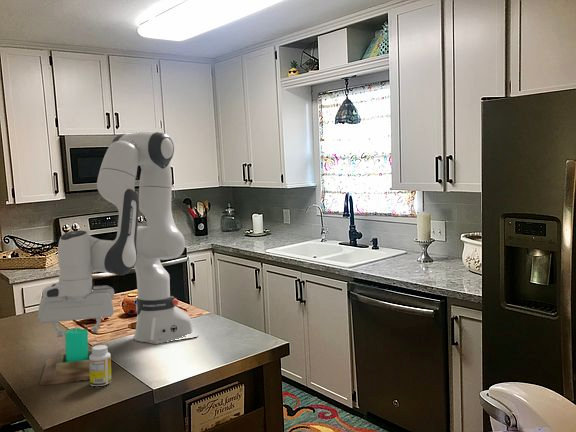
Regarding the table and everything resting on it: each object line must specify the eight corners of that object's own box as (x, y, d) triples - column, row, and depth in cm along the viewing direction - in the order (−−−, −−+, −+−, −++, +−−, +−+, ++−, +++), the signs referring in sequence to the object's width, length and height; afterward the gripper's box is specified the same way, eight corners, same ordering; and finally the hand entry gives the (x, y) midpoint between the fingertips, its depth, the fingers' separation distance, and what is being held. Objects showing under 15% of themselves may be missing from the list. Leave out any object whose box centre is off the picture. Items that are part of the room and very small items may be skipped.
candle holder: (110, 356, 163) (110, 344, 162) (111, 377, 146) (110, 363, 146) (47, 363, 157) (47, 350, 156) (40, 385, 140) (40, 371, 140)
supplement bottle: (104, 378, 145) (103, 342, 144) (115, 383, 141) (114, 346, 141) (85, 384, 141) (84, 347, 140) (96, 389, 137) (95, 351, 136)
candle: (80, 370, 148) (79, 329, 147) (61, 369, 149) (60, 327, 148) (92, 363, 153) (91, 323, 153) (74, 361, 155) (73, 322, 154)
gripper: (113, 282, 156) (115, 327, 157) (38, 288, 149) (41, 334, 151) (114, 286, 150) (115, 333, 151) (36, 292, 143) (38, 341, 145)
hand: (77, 334), depth 151 cm, fingers open, 8 cm apart
